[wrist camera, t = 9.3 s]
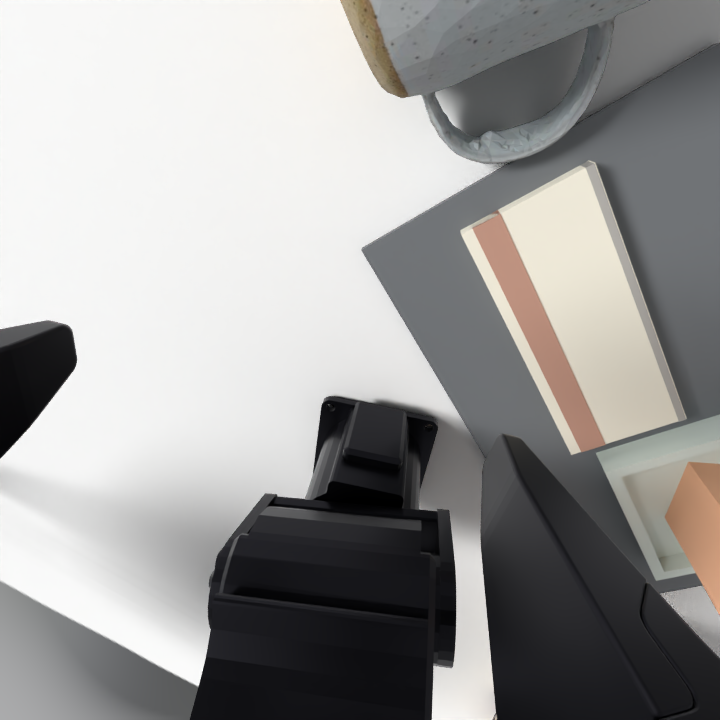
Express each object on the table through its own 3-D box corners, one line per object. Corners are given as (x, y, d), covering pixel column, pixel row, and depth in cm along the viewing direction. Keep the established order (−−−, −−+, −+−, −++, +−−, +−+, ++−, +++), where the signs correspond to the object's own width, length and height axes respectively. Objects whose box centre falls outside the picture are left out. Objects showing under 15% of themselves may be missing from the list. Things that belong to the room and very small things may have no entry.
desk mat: (574, 603, 30) (576, 609, 30) (362, 247, 21) (361, 250, 20) (833, 553, 25) (839, 559, 25) (714, 44, 15) (720, 42, 15)
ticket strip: (567, 445, 24) (571, 455, 23) (460, 230, 19) (461, 235, 19) (678, 409, 22) (687, 419, 21) (588, 160, 17) (595, 162, 17)
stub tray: (645, 558, 27) (655, 581, 26) (595, 452, 24) (604, 472, 23) (827, 518, 24) (850, 542, 22) (797, 389, 21) (822, 408, 19)
